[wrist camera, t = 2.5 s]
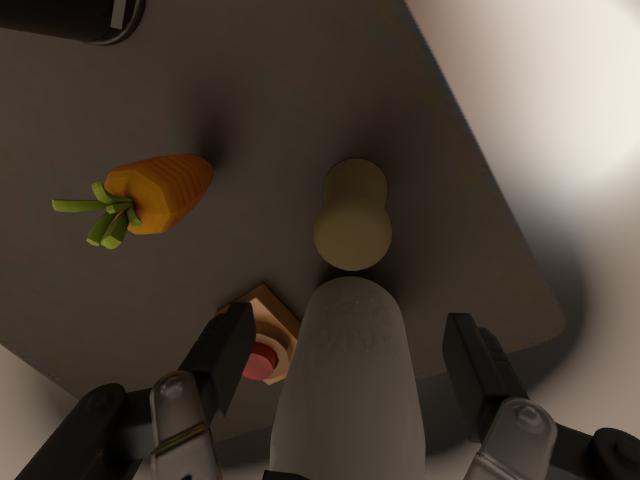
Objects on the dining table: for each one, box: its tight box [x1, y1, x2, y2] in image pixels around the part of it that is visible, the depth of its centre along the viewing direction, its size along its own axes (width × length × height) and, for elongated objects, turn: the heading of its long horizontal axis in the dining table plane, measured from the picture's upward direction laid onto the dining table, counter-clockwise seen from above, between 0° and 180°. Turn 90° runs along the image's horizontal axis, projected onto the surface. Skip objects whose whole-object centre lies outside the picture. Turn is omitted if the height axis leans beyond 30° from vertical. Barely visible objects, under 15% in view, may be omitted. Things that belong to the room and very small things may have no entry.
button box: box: [212, 284, 301, 385], centre depth 36 cm, size 8×11×4 cm
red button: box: [243, 342, 277, 380], centre depth 33 cm, size 4×4×2 cm
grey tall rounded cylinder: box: [270, 276, 425, 480], centre depth 22 cm, size 10×10×28 cm
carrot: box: [52, 154, 214, 249], centre depth 23 cm, size 5×5×15 cm
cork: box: [313, 159, 392, 271], centre depth 24 cm, size 6×6×11 cm
